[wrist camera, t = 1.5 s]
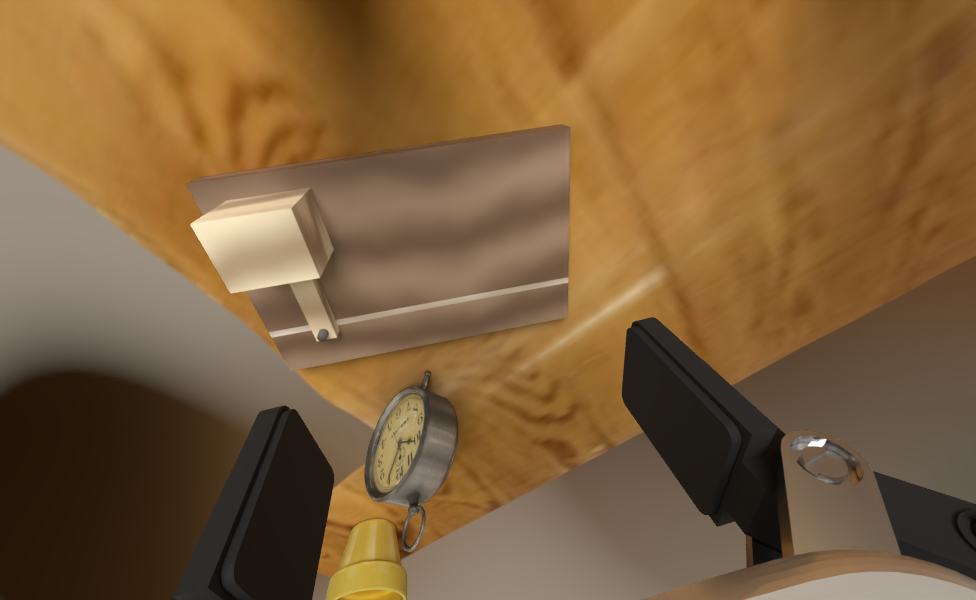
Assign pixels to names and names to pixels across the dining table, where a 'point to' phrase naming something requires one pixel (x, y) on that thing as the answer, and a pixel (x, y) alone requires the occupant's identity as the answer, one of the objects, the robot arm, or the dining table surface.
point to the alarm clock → (411, 451)
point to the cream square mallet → (273, 249)
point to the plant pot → (370, 565)
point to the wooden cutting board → (423, 242)
